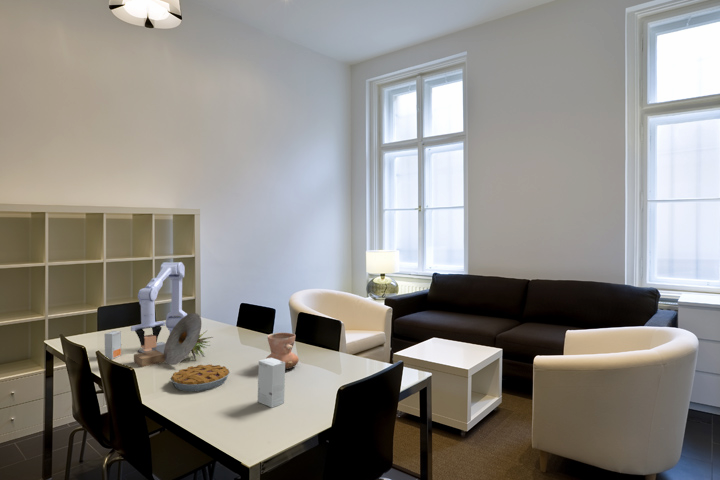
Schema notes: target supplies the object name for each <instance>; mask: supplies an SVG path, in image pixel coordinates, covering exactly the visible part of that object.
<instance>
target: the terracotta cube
mask: <svg viewBox="0 0 720 480" xmlns="http://www.w3.org/2000/svg"><path fill="white" fill-rule="evenodd" d="M154 347H157V346H156V336H155V335H153V333H151V334H145V335H144V345H143V346H142V345H141V344H140V348H141V349H149V348H154Z"/></svg>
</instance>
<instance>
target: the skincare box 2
mask: <svg viewBox="0 0 720 480" xmlns="http://www.w3.org/2000/svg"><path fill="white" fill-rule="evenodd" d="M266 358H267V357H266ZM266 358H264V359H259V360H258V370H257V371H258V372H257V374H258V376H257V378H258V379H257V402H258V404H259V403H260V404H263V405H264V406H267V407H269V408H275V407H277V406H280V405H282V404H285V389H286V388H285V386H286V385H285V383H286V382H285V381H286V379H285V377H286V370H285V362H282V361H280V360H277V359H274V358H267V359H266Z"/></svg>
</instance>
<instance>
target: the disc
mask: <svg viewBox="0 0 720 480" xmlns="http://www.w3.org/2000/svg"><path fill="white" fill-rule="evenodd" d="M201 329H202V318H201V316H200V314H198V313H197V312H191V313H187V315H186V316H185V317H183V318H182V319H181V320H180V321H179V322H178V323H177V324H176V326H175V327H174V328H173V330H172V332H171V333H170V332H169V335H168V337H167V339H166V345H165V349H164V354H165V362H164V363H166V364H167V365H170V366H175V365H177V364H180V362H182V361H183V360H185V359H186V358H187V357H188V356H190V354H191V355H192V356H193V358H194V360H195V361H196V362H197V357H200V356H201V355H202V357H204V358H206V356H205V353H204V351H203V350H202V349H207V347H211V345H210V344H208V343H211V341H210V340H209V341H208V339H211V338H213V339H214V336H211V337H210V336H209V337H208V336H207V337H202V336H203V335H204V334H205V333H207V332H208V330H205V331H204V332H203V333H201ZM206 340H207V341H206ZM199 353H200V354H201V355H200V354H199ZM196 356H197V357H196Z"/></svg>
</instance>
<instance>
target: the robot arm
mask: <svg viewBox="0 0 720 480" xmlns="http://www.w3.org/2000/svg"><path fill="white" fill-rule="evenodd" d="M185 268H186V267H185V265H184V263H183V261H180V262H179V261H177V262H176V261H175V262H166V261H165V262H164V261H163V262H162V264H161V265H160V270H159V272H158V274H157V275H156V277H153V278H151V279H150V281H149V282H148V283H147V284H146V286H145V287H144V288H140V289H139V291H138V292H137V299H138V303H139V305H140V322H141V323H140V324H136V325H132V326H130V331H131V332H135V334H136V335H137V337H138V339H139V343H140V346H141V345H142V346H143V345H144V336H145V335H146V331H145V329H151V330H152V331H151V332H152V335H155V336H156V343H158V338H159V335H160V333H161V331H162V327H166V328H167V330H168V331H169V334H170V333H171V332H172V330H173V328H174V327H175V326H176V324H177V323H178V322H179V321H180V320H181V319H182V318H183V317H185V316H186V315H188V313H187V312H185V311H184V310H183V278H185V273H186V271H185ZM167 278H169V279H170V280H171V297H170V298H171V302H170V303H171V306H170V307H171V311H169V312H168V313H167V314H166V317H165V318H166V319H165V321H163V320H161V321H156V314H155V313H156V311H155V310H156V308H155V305H156V303H155V300H157V297H158V294H159V291H160V290H161V288H162V287H163V286H164V284H163V282H164V281H165V280H166V279H167Z"/></svg>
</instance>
